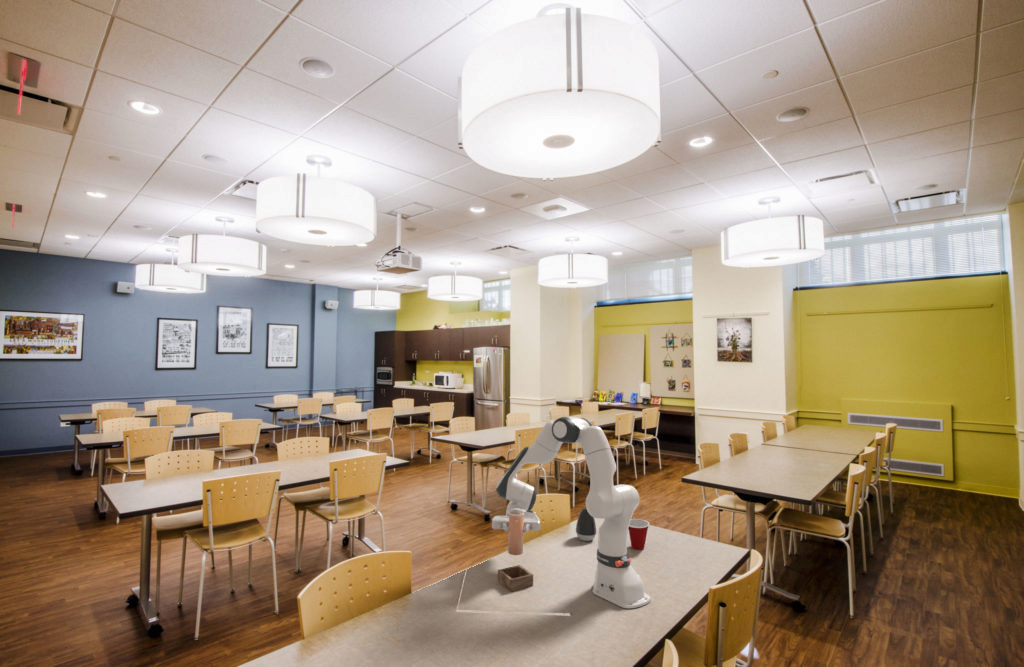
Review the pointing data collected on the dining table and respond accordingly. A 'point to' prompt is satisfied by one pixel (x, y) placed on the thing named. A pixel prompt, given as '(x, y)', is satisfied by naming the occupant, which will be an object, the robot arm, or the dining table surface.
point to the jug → (515, 532)
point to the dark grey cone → (585, 526)
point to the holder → (515, 578)
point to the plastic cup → (638, 533)
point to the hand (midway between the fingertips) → (516, 529)
